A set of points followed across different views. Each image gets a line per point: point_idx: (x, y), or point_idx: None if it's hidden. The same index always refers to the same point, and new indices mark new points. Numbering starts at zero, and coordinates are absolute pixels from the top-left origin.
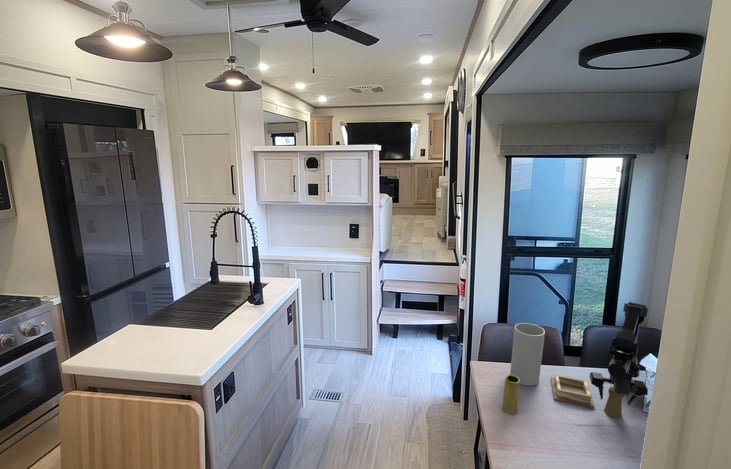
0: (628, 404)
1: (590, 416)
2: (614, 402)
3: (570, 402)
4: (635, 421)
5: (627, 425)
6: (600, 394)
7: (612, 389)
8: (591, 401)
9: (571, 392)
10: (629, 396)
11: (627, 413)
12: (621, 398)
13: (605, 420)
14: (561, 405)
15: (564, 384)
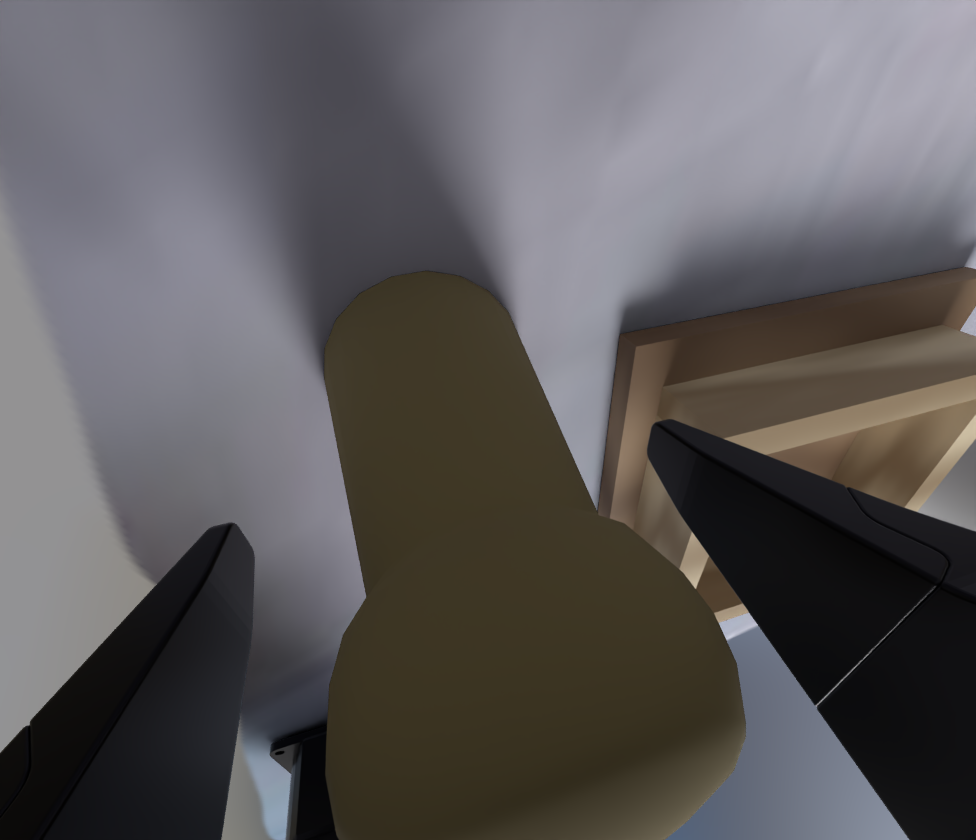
0: (215, 537)
1: (723, 113)
2: (495, 425)
3: (849, 296)
4: (122, 340)
5: (203, 140)
6: (790, 468)
7: (730, 769)
8: (638, 425)
9: (917, 393)
10: (177, 761)
11: (263, 456)
12: (377, 584)
13: (540, 110)
14: (952, 198)
15: None
